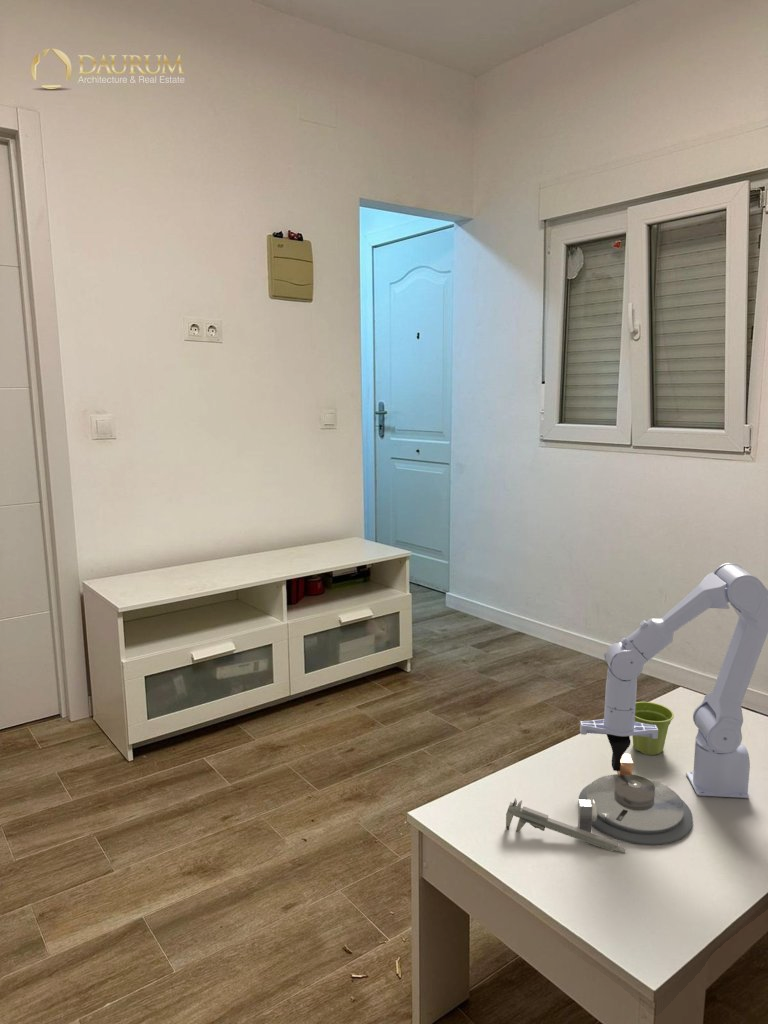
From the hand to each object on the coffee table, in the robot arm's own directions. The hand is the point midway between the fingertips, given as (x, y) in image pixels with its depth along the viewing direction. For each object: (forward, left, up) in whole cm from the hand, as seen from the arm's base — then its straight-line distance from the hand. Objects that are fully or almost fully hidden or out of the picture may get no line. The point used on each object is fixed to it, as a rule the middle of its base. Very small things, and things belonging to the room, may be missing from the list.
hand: (616, 768), depth 144 cm
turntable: (-2, +9, -2) cm, 9 cm away
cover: (-1, +10, -1) cm, 10 cm away
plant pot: (-10, -14, -3) cm, 17 cm away
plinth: (-2, +10, -3) cm, 10 cm away
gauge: (+8, +17, -3) cm, 19 cm away
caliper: (+12, +20, -3) cm, 23 cm away
